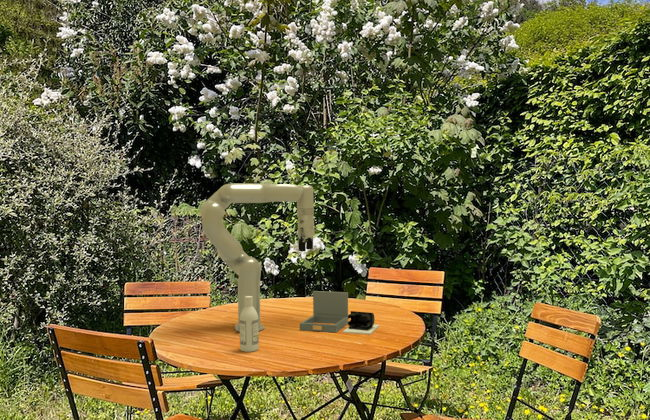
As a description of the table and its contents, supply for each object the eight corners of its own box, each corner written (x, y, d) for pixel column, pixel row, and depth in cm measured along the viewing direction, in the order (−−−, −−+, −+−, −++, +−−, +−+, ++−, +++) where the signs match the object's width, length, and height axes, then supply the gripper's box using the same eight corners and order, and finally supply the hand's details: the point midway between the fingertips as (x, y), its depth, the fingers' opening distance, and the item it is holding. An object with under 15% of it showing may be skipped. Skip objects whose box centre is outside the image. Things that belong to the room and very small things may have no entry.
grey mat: (370, 334, 225) (370, 333, 225) (342, 332, 229) (342, 331, 229) (379, 326, 240) (379, 324, 240) (353, 324, 244) (353, 323, 244)
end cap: (374, 327, 235) (374, 311, 235) (368, 330, 229) (368, 314, 229) (353, 325, 240) (353, 309, 240) (347, 328, 233) (346, 312, 233)
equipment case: (335, 332, 228) (335, 299, 228) (299, 330, 234) (298, 298, 233) (348, 323, 247) (347, 292, 246) (314, 321, 252) (313, 291, 252)
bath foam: (258, 346, 208) (258, 294, 207) (258, 351, 201) (257, 297, 201) (240, 347, 207) (239, 295, 207) (239, 352, 200) (238, 298, 200)
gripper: (306, 212, 238) (307, 252, 238) (319, 212, 254) (320, 248, 254) (290, 213, 240) (291, 251, 240) (304, 212, 257) (305, 248, 257)
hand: (305, 250), depth 247 cm, fingers open, 9 cm apart
